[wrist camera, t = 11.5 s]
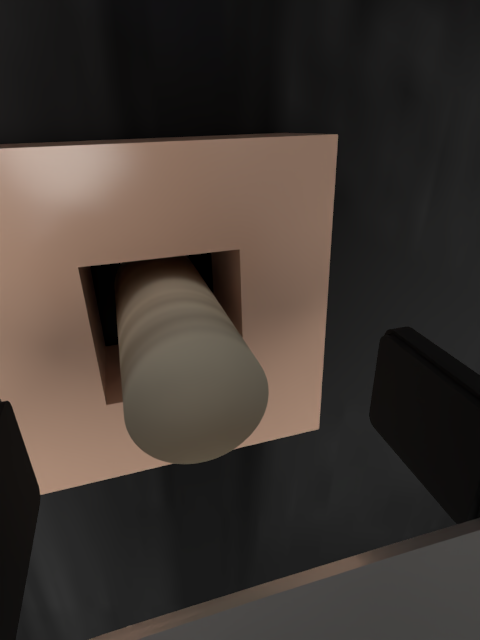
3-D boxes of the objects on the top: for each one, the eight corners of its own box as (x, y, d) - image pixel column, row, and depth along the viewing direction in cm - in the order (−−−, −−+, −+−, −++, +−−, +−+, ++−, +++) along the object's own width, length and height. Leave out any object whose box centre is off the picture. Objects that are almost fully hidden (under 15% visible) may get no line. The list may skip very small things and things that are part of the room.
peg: (107, 249, 19) (112, 354, 10) (195, 240, 20) (268, 329, 11) (121, 329, 20) (135, 478, 12) (201, 316, 21) (268, 446, 13)
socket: (-39, 145, 16) (-94, 152, 11) (283, 132, 19) (338, 134, 14) (42, 421, 21) (27, 498, 17) (280, 375, 24) (318, 428, 20)
